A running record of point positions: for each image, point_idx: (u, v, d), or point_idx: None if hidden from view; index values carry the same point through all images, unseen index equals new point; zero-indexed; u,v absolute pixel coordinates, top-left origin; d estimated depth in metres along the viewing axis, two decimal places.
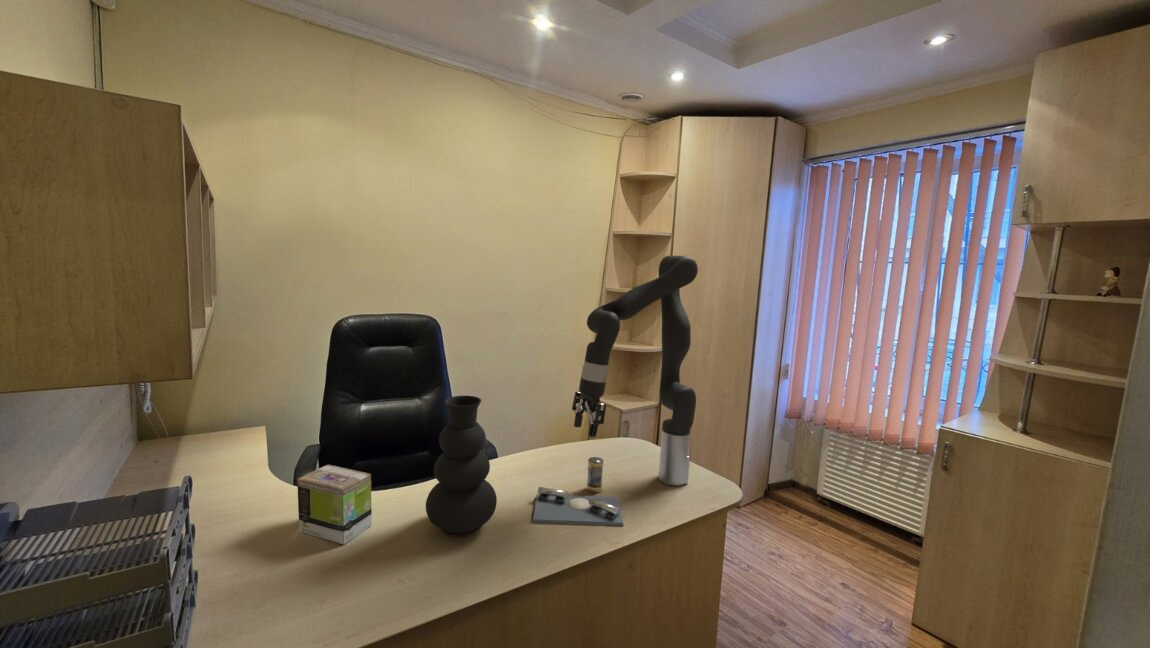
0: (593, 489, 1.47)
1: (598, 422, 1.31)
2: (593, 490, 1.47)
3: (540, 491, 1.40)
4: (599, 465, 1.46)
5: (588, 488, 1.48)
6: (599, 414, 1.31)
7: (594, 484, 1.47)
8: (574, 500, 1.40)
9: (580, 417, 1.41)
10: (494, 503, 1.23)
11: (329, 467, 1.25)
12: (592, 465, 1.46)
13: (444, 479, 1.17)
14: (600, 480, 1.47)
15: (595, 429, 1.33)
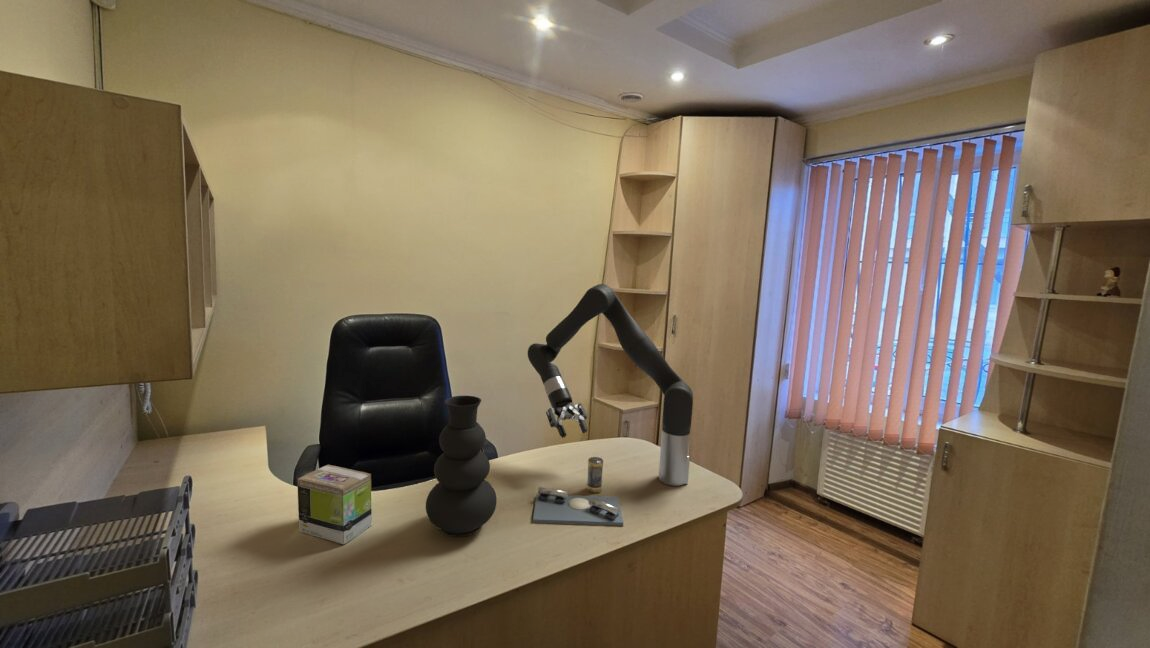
0: (593, 489, 1.47)
1: (551, 425, 1.55)
2: (593, 490, 1.47)
3: (540, 491, 1.40)
4: (599, 465, 1.46)
5: (588, 488, 1.48)
6: (549, 418, 1.56)
7: (594, 484, 1.47)
8: (574, 500, 1.40)
9: (581, 423, 1.60)
10: (494, 503, 1.23)
11: (330, 467, 1.25)
12: (592, 465, 1.46)
13: (444, 479, 1.17)
14: (600, 480, 1.47)
15: (559, 430, 1.54)
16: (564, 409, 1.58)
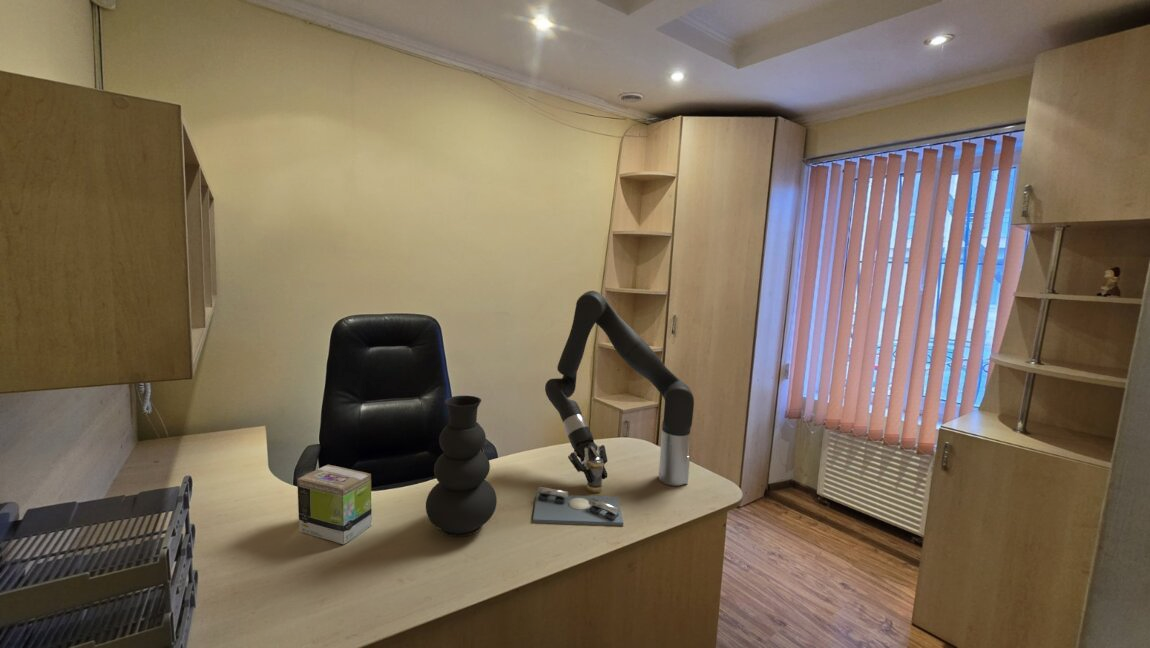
0: (593, 489, 1.47)
1: (577, 469, 1.47)
2: (593, 490, 1.47)
3: (540, 491, 1.40)
4: (599, 465, 1.46)
5: (588, 488, 1.48)
6: (573, 463, 1.47)
7: (594, 484, 1.47)
8: (574, 500, 1.40)
9: None
10: (494, 503, 1.23)
11: (329, 467, 1.25)
12: (592, 465, 1.46)
13: (444, 479, 1.17)
14: (600, 480, 1.47)
15: (586, 475, 1.46)
16: (585, 450, 1.50)
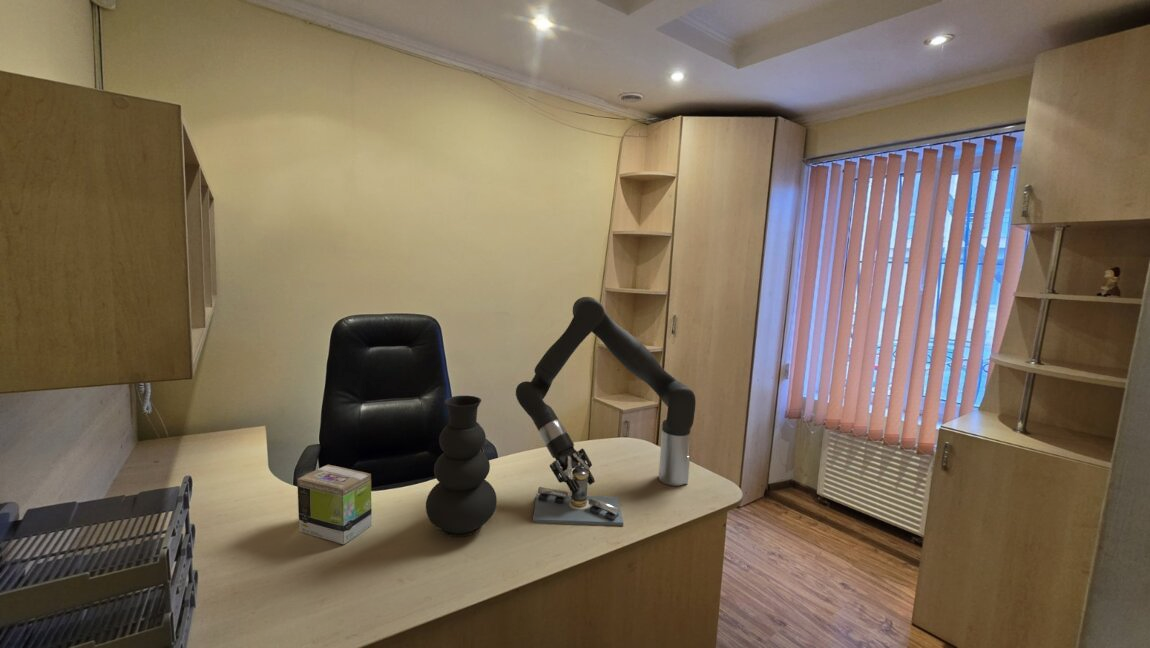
0: (580, 503, 1.36)
1: (559, 480, 1.33)
2: (579, 504, 1.36)
3: (540, 491, 1.40)
4: (585, 477, 1.35)
5: (573, 503, 1.36)
6: (555, 473, 1.34)
7: (580, 498, 1.36)
8: None
9: None
10: (494, 503, 1.23)
11: (329, 467, 1.25)
12: (578, 477, 1.35)
13: (444, 479, 1.17)
14: (586, 492, 1.37)
15: (569, 485, 1.34)
16: (569, 458, 1.37)
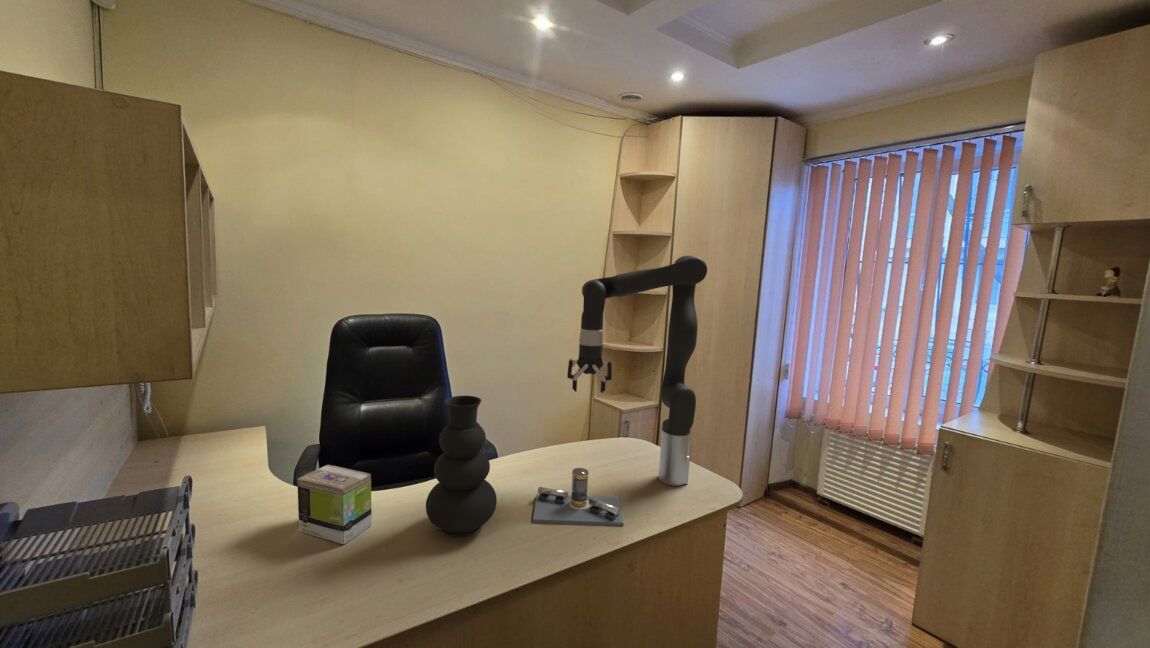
0: (580, 503, 1.36)
1: (567, 375, 1.52)
2: (579, 504, 1.36)
3: (540, 491, 1.40)
4: (585, 477, 1.35)
5: (573, 503, 1.36)
6: None
7: (580, 498, 1.36)
8: None
9: (601, 383, 1.51)
10: (494, 503, 1.23)
11: (329, 467, 1.25)
12: (578, 477, 1.35)
13: (444, 479, 1.17)
14: (586, 492, 1.37)
15: None
16: (585, 366, 1.49)
